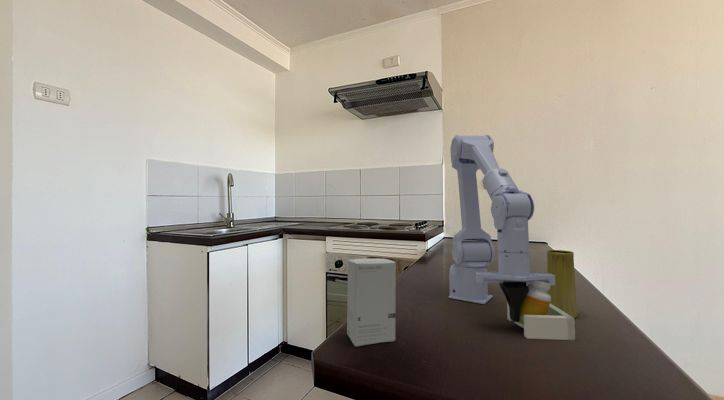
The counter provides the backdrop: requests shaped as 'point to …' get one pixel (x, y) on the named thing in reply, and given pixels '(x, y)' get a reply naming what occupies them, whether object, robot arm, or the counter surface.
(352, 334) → the skincare box
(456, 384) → the counter surface
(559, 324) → the bracket
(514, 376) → the counter surface
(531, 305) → the supplement bottle
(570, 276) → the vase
